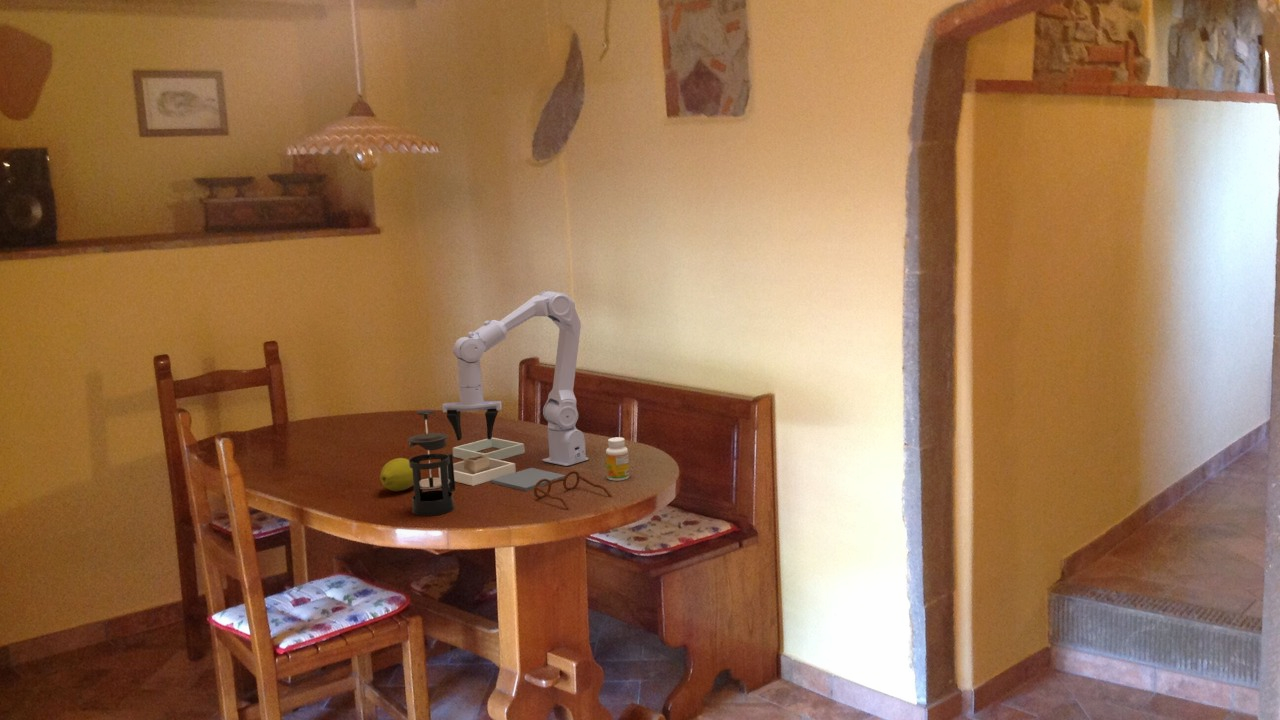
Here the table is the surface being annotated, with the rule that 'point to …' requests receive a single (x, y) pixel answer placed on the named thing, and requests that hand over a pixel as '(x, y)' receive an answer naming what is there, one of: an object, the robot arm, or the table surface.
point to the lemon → (397, 475)
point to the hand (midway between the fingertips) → (474, 439)
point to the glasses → (564, 487)
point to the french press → (436, 499)
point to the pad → (526, 479)
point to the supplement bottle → (617, 459)
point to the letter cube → (476, 464)
